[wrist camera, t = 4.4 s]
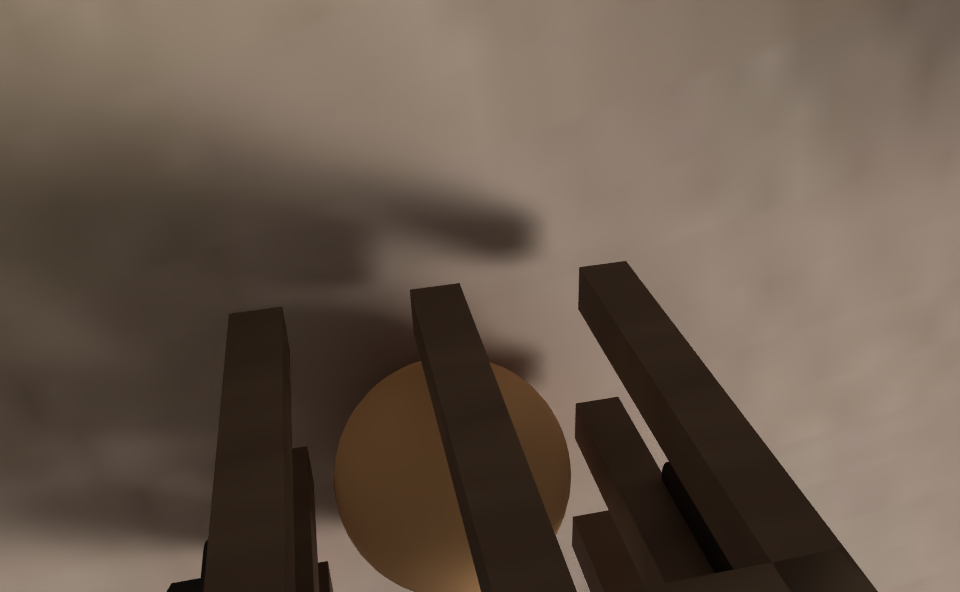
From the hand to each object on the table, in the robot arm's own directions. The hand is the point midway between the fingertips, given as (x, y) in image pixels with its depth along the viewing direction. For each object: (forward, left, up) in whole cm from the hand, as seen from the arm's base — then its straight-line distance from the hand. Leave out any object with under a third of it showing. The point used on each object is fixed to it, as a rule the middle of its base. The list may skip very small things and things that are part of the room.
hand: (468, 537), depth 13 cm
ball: (0, 0, -1) cm, 1 cm away
